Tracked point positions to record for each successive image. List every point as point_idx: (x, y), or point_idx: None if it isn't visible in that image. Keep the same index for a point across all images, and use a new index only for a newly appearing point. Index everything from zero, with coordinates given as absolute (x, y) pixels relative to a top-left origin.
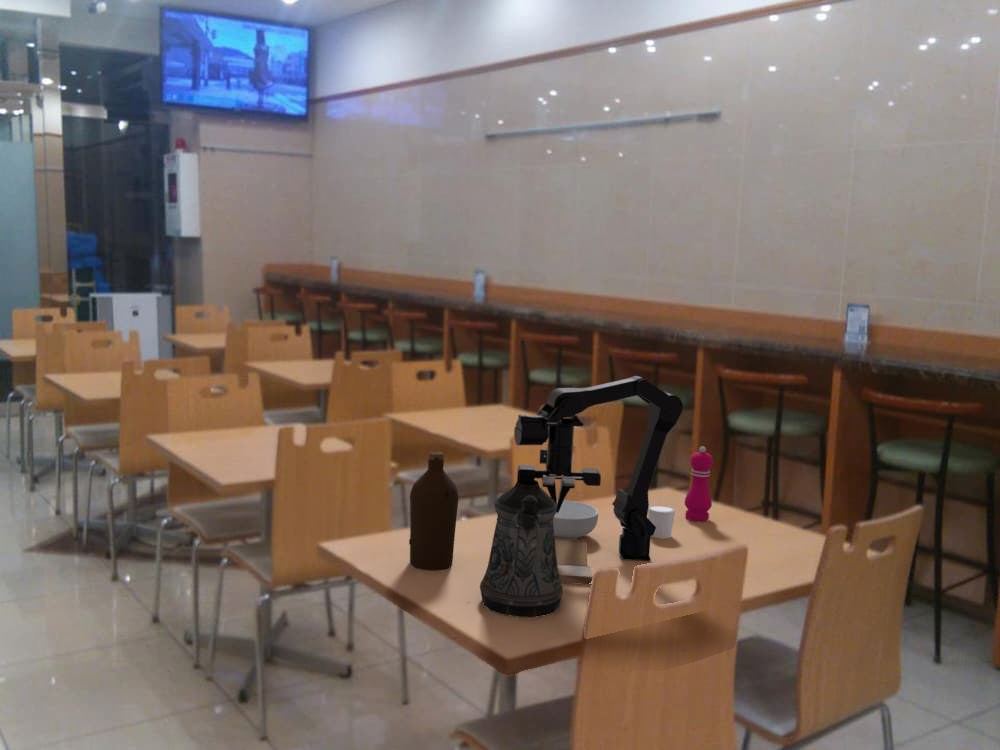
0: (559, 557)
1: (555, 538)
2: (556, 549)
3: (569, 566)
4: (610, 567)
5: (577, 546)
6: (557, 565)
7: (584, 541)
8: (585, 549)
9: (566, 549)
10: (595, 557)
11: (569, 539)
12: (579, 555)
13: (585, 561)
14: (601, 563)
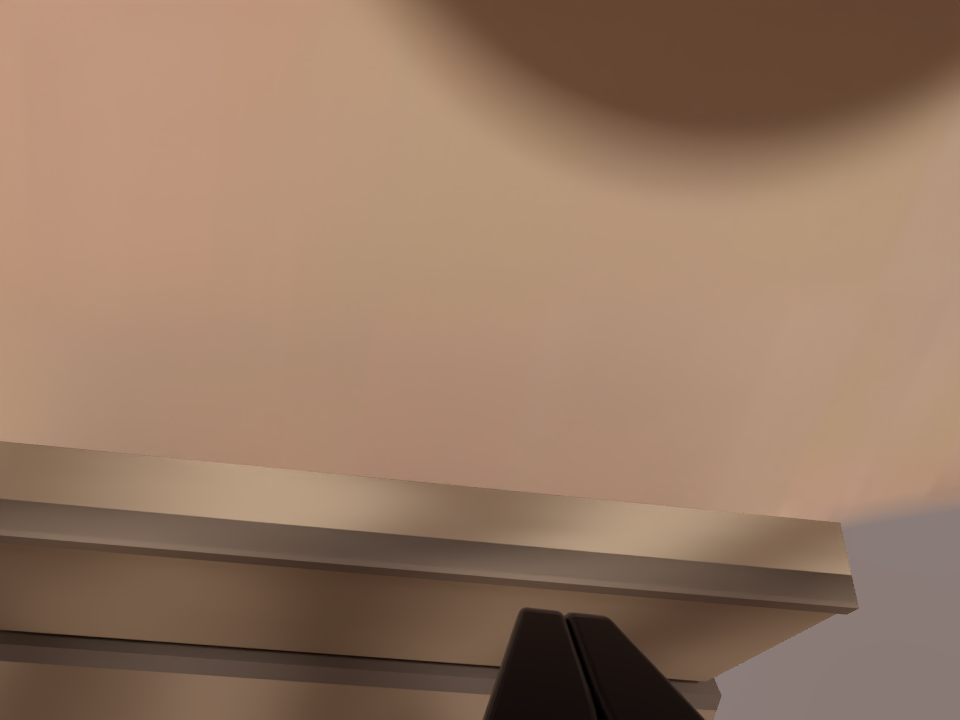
0: (473, 644)
1: (468, 575)
2: (458, 616)
3: None
4: (949, 496)
5: (706, 619)
6: (435, 694)
7: (823, 611)
8: (776, 635)
9: None
10: (947, 219)
11: (649, 591)
12: (678, 653)
13: (707, 671)
14: (920, 398)
